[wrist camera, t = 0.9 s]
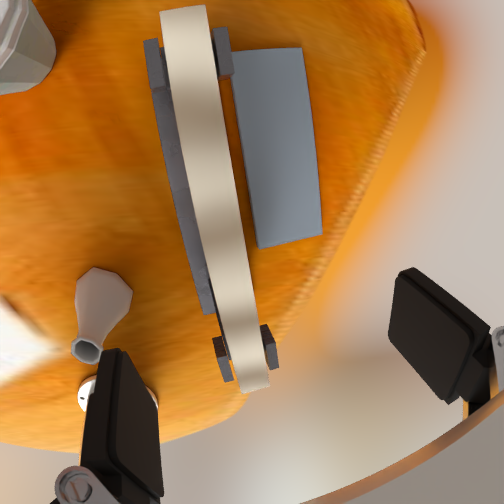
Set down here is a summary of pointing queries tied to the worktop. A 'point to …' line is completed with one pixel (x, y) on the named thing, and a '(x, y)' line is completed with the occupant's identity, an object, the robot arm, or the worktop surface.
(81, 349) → the flask
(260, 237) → the mat
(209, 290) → the grey holder stand
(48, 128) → the worktop surface
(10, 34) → the disposable coffee cup
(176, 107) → the rail
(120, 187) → the worktop surface
